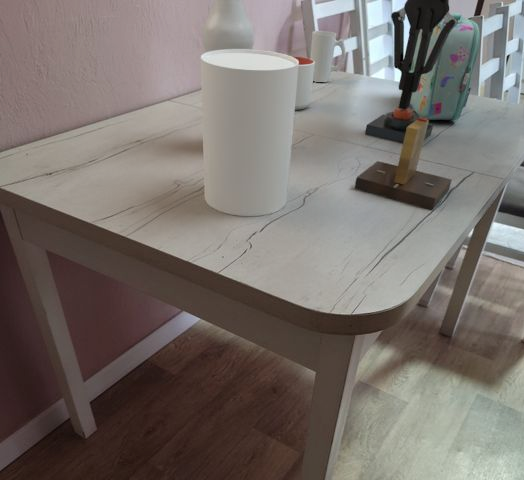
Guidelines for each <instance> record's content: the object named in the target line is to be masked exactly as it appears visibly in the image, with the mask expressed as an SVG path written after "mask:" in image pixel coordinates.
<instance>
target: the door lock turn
mask: <svg viewBox="0 0 524 480" xmlns="http://www.w3.org/2000/svg"><path fill="white" fill-rule="evenodd" d="M429 122H430V120H428V119H426V118H421V117H419V116H418V119H417V120H416V121H414V122H413V123H412V124H410V125H409V126H408V127H407V129H406V133H405V138H404V142H403V144H402V146H401V151H400V155H399V160H398V163H397V166H398V168H397V172H396V176H395V180H394V182H395V183H399V184H403V185H404V184H405V183H406V182H407V181H408V180H409V179H410V178H411V177H413V176H414V175H415V172H416V171H417V168H418V165H419V160H420V156H421V153H422V148H423V146H424V142H425V140H424V138H425V134H426V130H427V126H428V124H429Z"/></svg>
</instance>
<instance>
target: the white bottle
mask: <svg viewBox="0 0 524 480" xmlns="http://www.w3.org/2000/svg"><path fill="white" fill-rule="evenodd" d="M202 43H203V47H204V50H205V52H204V53H206V52H210V51H215V50H224V49H251V50H253V47H254V43H255V30H254V26H253V24H252V22H251V20H250V18H249V17H248V14H247V13H246V10H245V4H244V0H213V4H212V7H211V11H210V13H209V15H208V16H207V18H206V20H205V21H204V23H203V26H202Z"/></svg>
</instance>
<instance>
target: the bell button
mask: <svg viewBox="0 0 524 480" xmlns="http://www.w3.org/2000/svg"><path fill="white" fill-rule="evenodd" d="M393 112H394V113H393V117H395V118H398V119H406V120H408V119H411V118H412V114H414V111H413V110H412V108H410V107H408V108H407V109H405V110H404V109H400V108H399V106H397V107H394V109H393Z"/></svg>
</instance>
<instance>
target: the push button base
mask: <svg viewBox="0 0 524 480" xmlns="http://www.w3.org/2000/svg"><path fill="white" fill-rule="evenodd" d="M393 113H394V111H389V112H387V113H385V114H381V115H380V116H378V117H377V118H375V119H374V120H372V121H370V122H369V123H367V124H366V127H365V132H364V136H368V137H373V138H378V139H381V140H385V141H391V142H395V143H399V144H402V145H403V142H404V138H405V133H406V129H407V127H408V126H409V125H410V124H412V123H413V122H414V121H416V120H417V119H418V118H419V116H418V115H416V114H414V113H412V118H411V119H408V120H406V119H398V118H395V117H393ZM433 128H434V125H433V124H429V123H428V126H427V130H426V134H425V138H424V141H426V140H427V139H428V138H429V137H430V136H432V132H433Z"/></svg>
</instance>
